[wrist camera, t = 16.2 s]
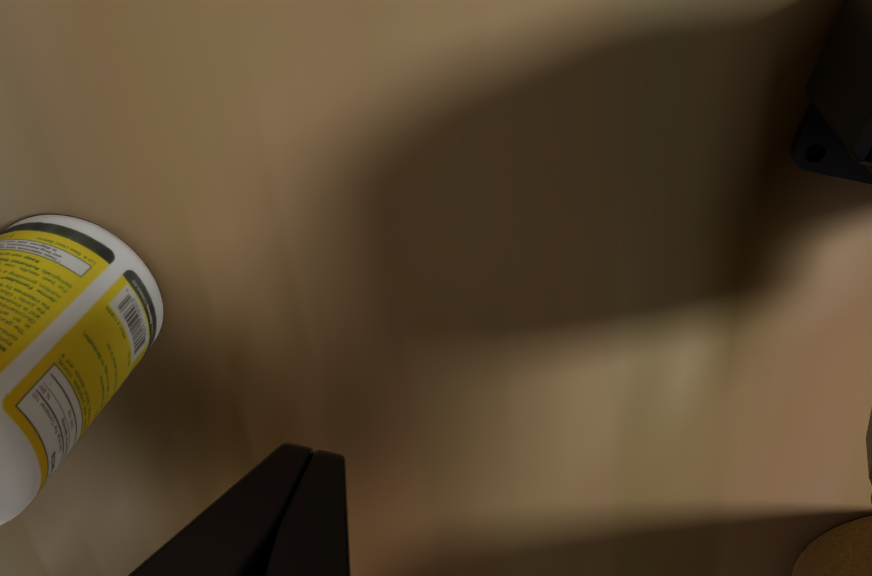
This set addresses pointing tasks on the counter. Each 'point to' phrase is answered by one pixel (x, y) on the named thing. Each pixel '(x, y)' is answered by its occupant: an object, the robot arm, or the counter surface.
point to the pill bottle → (63, 341)
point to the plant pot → (839, 552)
